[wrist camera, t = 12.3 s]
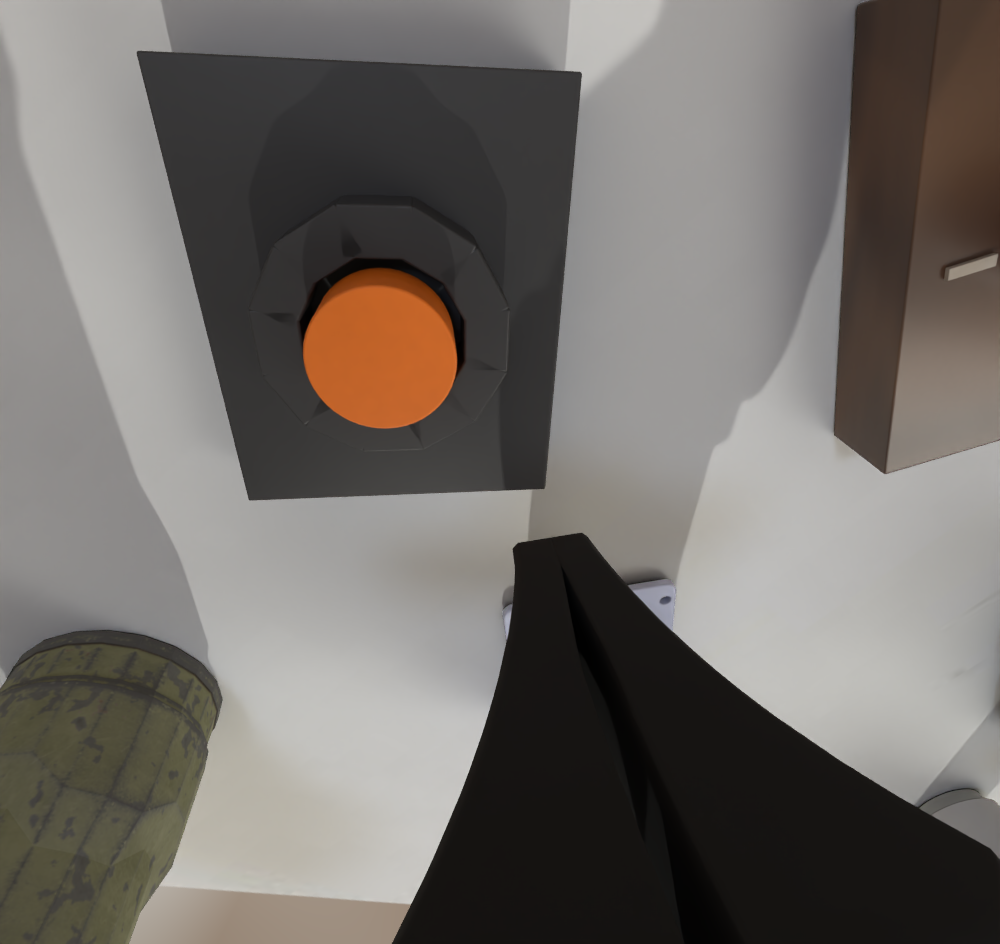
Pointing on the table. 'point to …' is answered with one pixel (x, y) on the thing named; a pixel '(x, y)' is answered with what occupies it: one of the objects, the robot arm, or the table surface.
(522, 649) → the robot arm
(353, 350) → the button
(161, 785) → the thermos
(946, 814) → the energy drink can
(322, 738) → the table surface
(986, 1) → the dial panel
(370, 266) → the button base
